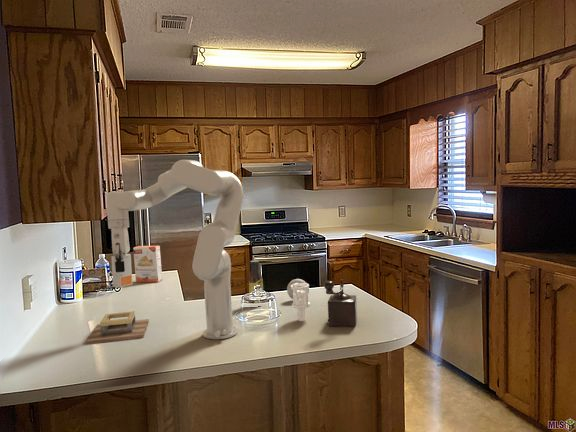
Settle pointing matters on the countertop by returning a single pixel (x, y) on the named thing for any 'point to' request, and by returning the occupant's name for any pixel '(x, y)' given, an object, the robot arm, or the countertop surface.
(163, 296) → the countertop surface
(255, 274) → the sauce bottle
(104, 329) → the frame
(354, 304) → the manual coffee grinder
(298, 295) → the clear stepped glass cylinder
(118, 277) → the skincare box
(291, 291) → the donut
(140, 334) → the walnut board
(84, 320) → the countertop surface
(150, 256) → the cracker box
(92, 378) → the countertop surface
